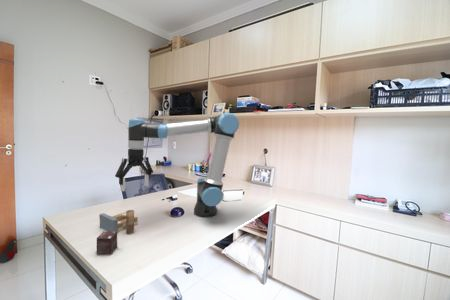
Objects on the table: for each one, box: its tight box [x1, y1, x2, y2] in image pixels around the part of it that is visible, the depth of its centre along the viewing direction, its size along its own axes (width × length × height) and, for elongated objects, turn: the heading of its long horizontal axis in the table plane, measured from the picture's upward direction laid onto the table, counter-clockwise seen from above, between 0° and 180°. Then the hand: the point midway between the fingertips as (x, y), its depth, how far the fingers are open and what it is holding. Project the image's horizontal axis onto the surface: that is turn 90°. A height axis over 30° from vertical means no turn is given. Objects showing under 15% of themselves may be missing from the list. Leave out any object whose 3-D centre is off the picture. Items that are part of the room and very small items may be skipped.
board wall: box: [99, 213, 119, 234], centre depth 115 cm, size 15×28×8 cm, turn 148°
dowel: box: [125, 209, 135, 235], centre depth 104 cm, size 4×4×12 cm
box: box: [96, 230, 118, 256], centre depth 89 cm, size 6×6×7 cm
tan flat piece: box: [111, 211, 138, 233], centre depth 111 cm, size 12×12×4 cm
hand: (135, 188), depth 111 cm, fingers open, 13 cm apart
